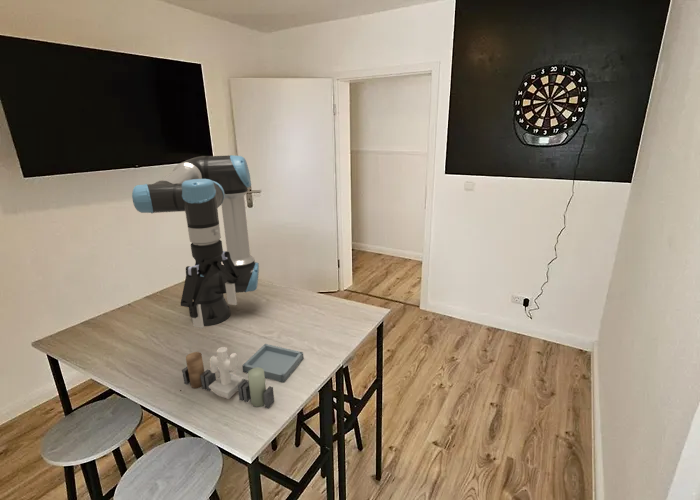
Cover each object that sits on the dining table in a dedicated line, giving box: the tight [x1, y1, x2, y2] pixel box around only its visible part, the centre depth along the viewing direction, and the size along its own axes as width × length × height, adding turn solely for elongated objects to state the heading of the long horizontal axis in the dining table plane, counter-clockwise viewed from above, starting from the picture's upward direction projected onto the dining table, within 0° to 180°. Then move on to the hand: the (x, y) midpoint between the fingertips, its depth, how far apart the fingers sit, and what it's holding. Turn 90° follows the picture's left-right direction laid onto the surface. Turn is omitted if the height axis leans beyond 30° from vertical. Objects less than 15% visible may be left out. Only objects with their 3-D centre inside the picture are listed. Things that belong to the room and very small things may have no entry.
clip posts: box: [181, 365, 275, 409], centre depth 108 cm, size 30×3×5 cm, turn 69°
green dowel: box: [247, 368, 267, 408], centre depth 103 cm, size 4×4×10 cm
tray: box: [242, 343, 304, 383], centre depth 120 cm, size 15×13×2 cm
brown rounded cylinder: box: [185, 351, 205, 390], centre depth 111 cm, size 4×4×10 cm
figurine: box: [208, 346, 245, 400], centre depth 106 cm, size 7×9×15 cm
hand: (216, 314), depth 100 cm, fingers open, 13 cm apart
